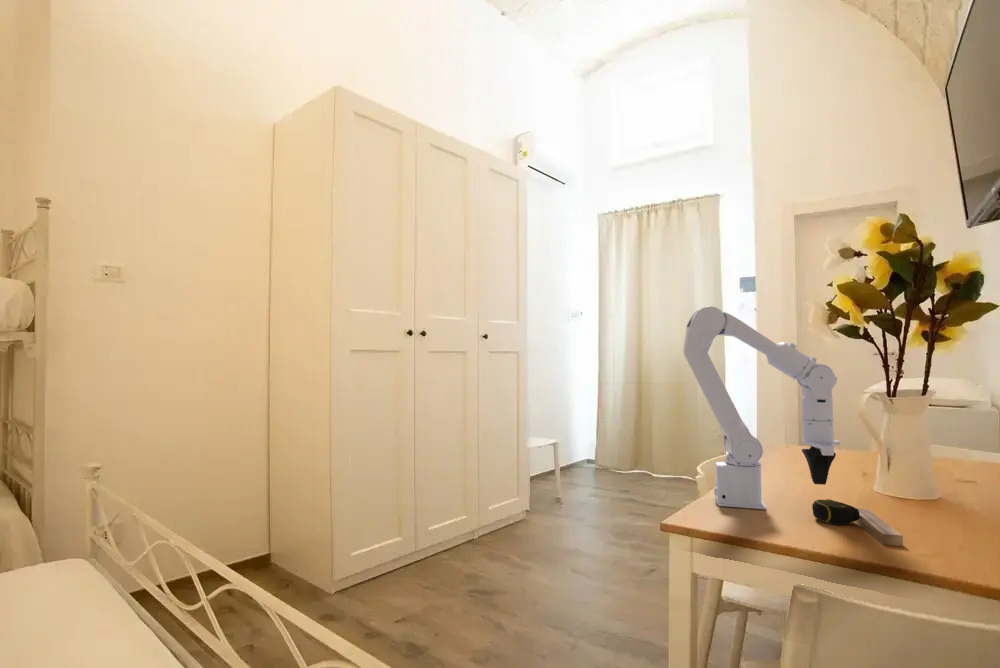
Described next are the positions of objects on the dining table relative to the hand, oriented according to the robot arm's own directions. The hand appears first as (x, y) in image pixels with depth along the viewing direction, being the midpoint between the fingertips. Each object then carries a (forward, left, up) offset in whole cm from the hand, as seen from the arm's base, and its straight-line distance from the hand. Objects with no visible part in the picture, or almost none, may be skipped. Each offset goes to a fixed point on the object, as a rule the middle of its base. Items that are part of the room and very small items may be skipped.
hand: (819, 483), depth 114 cm
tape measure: (0, -8, -6) cm, 10 cm away
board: (+6, -13, -5) cm, 15 cm away
